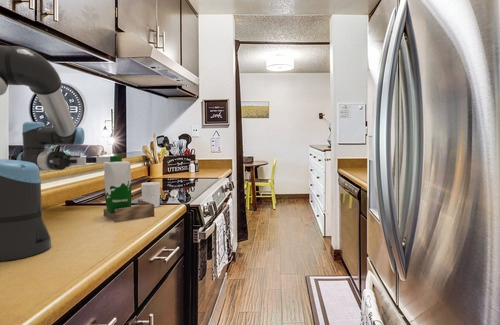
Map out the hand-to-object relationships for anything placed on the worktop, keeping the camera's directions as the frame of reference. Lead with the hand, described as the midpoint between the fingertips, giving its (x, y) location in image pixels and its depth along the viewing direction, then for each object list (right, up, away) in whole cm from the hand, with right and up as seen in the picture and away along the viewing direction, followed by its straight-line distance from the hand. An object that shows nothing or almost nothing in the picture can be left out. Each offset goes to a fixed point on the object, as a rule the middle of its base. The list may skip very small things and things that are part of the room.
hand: (98, 160), depth 124 cm
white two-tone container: (+10, -19, -5) cm, 22 cm away
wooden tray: (+13, -21, -2) cm, 24 cm away
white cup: (+16, -20, +16) cm, 30 cm away
